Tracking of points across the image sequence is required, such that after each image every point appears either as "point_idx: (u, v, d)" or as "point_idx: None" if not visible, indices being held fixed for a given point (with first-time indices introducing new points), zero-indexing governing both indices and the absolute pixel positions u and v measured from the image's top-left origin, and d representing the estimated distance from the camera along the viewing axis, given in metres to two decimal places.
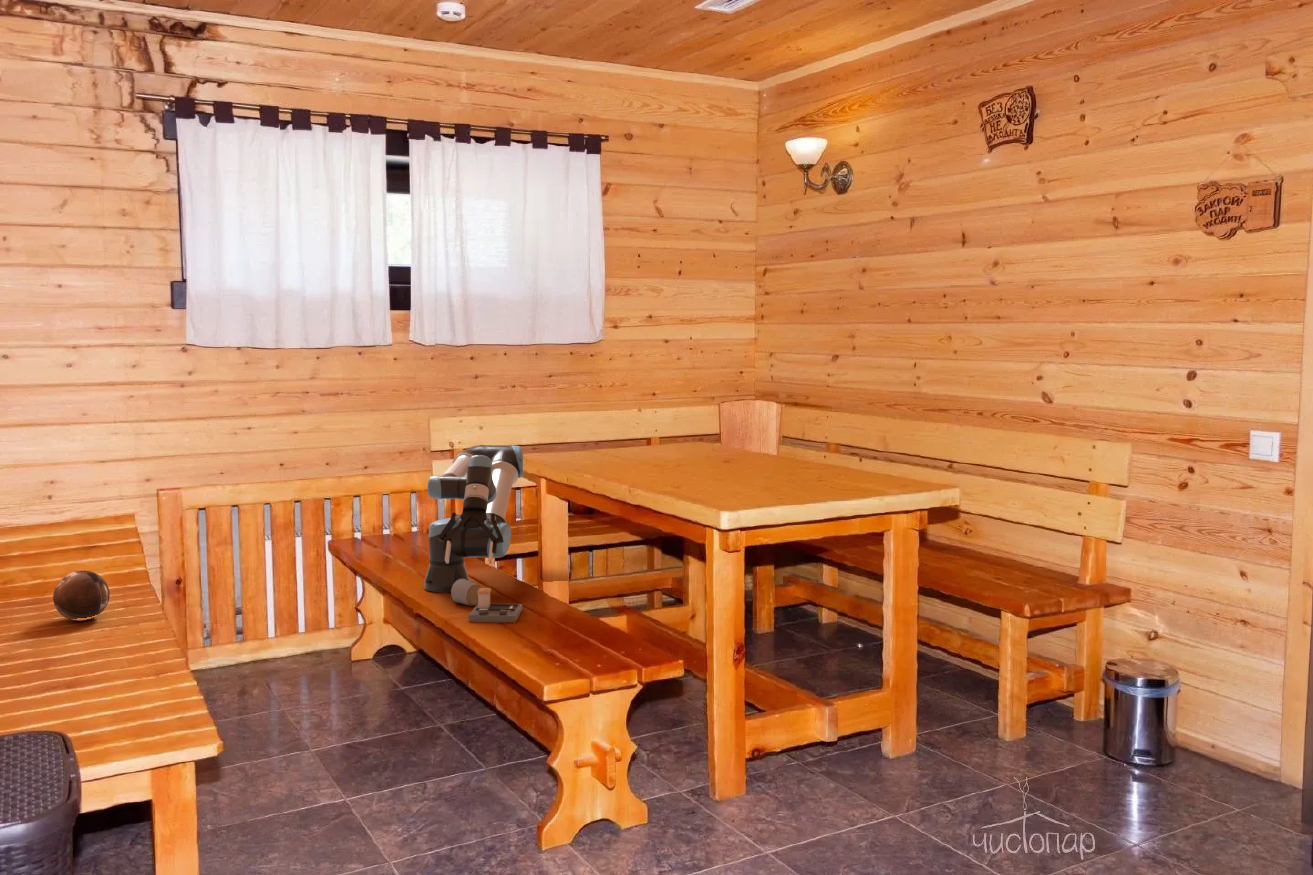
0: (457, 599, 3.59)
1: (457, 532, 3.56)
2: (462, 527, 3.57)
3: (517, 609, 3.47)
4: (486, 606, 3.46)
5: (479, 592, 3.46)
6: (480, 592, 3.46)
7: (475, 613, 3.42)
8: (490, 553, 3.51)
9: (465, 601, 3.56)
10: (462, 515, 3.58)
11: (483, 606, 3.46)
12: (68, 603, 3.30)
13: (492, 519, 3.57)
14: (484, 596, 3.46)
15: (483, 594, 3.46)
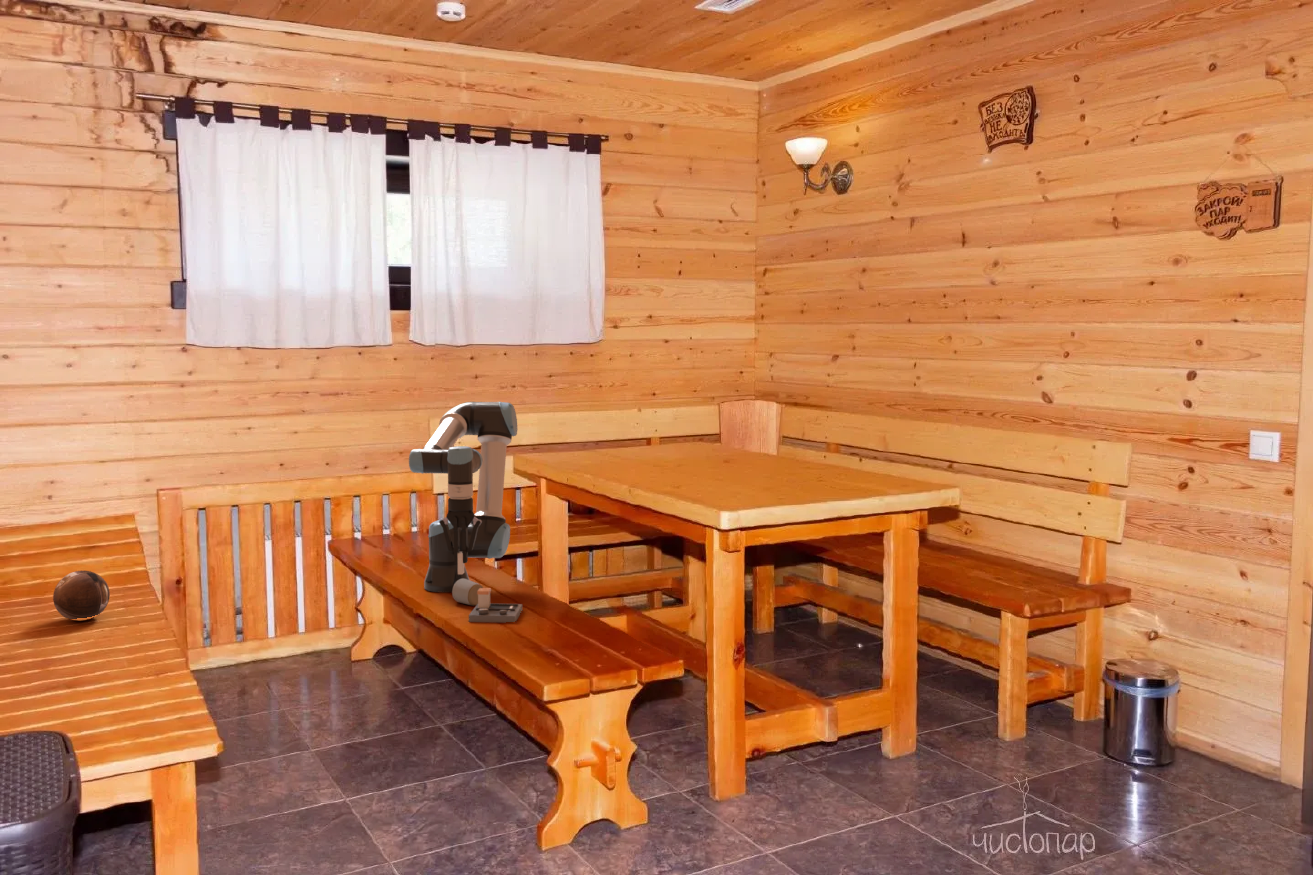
0: (458, 599, 3.59)
1: (458, 536, 3.46)
2: (458, 529, 3.46)
3: (517, 609, 3.47)
4: (486, 606, 3.46)
5: (479, 592, 3.46)
6: (480, 592, 3.46)
7: (475, 613, 3.42)
8: (461, 566, 3.45)
9: (466, 601, 3.57)
10: (449, 517, 3.44)
11: (483, 606, 3.46)
12: (68, 603, 3.30)
13: (475, 526, 3.44)
14: (484, 596, 3.46)
15: (483, 594, 3.46)
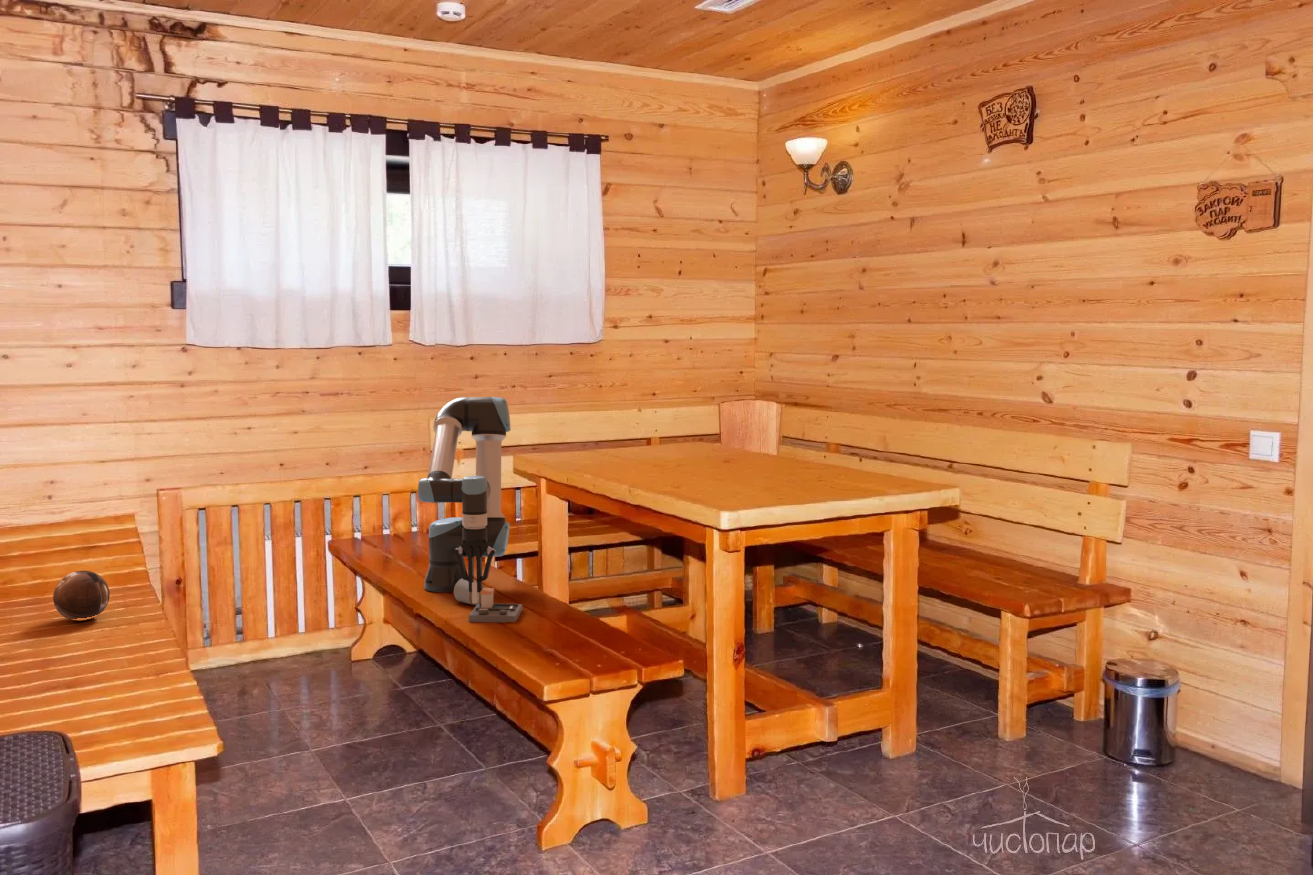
0: (459, 599, 3.60)
1: (472, 566, 3.47)
2: (472, 559, 3.46)
3: (517, 609, 3.47)
4: (489, 606, 3.46)
5: (482, 592, 3.46)
6: (484, 593, 3.46)
7: (475, 613, 3.42)
8: (475, 595, 3.46)
9: (468, 600, 3.57)
10: (463, 546, 3.45)
11: (486, 606, 3.46)
12: (68, 603, 3.30)
13: (489, 556, 3.45)
14: (487, 596, 3.46)
15: (486, 594, 3.46)
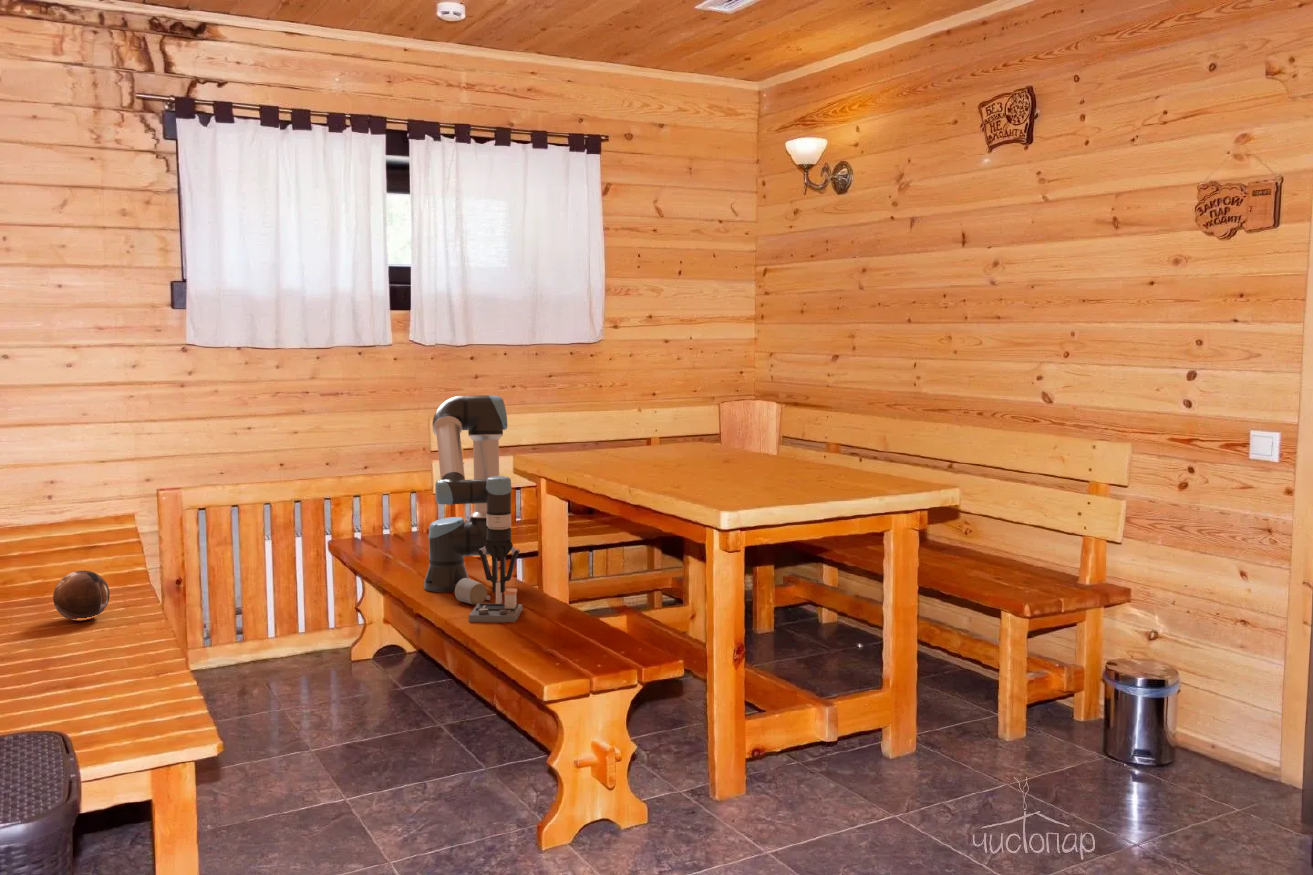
0: (460, 598, 3.60)
1: (496, 566, 3.47)
2: (496, 559, 3.46)
3: (517, 609, 3.47)
4: (512, 606, 3.46)
5: (506, 592, 3.45)
6: (507, 593, 3.45)
7: (475, 613, 3.42)
8: (499, 596, 3.46)
9: (469, 600, 3.57)
10: (487, 547, 3.45)
11: (509, 606, 3.46)
12: (68, 603, 3.30)
13: (513, 556, 3.45)
14: (510, 596, 3.46)
15: (510, 594, 3.45)
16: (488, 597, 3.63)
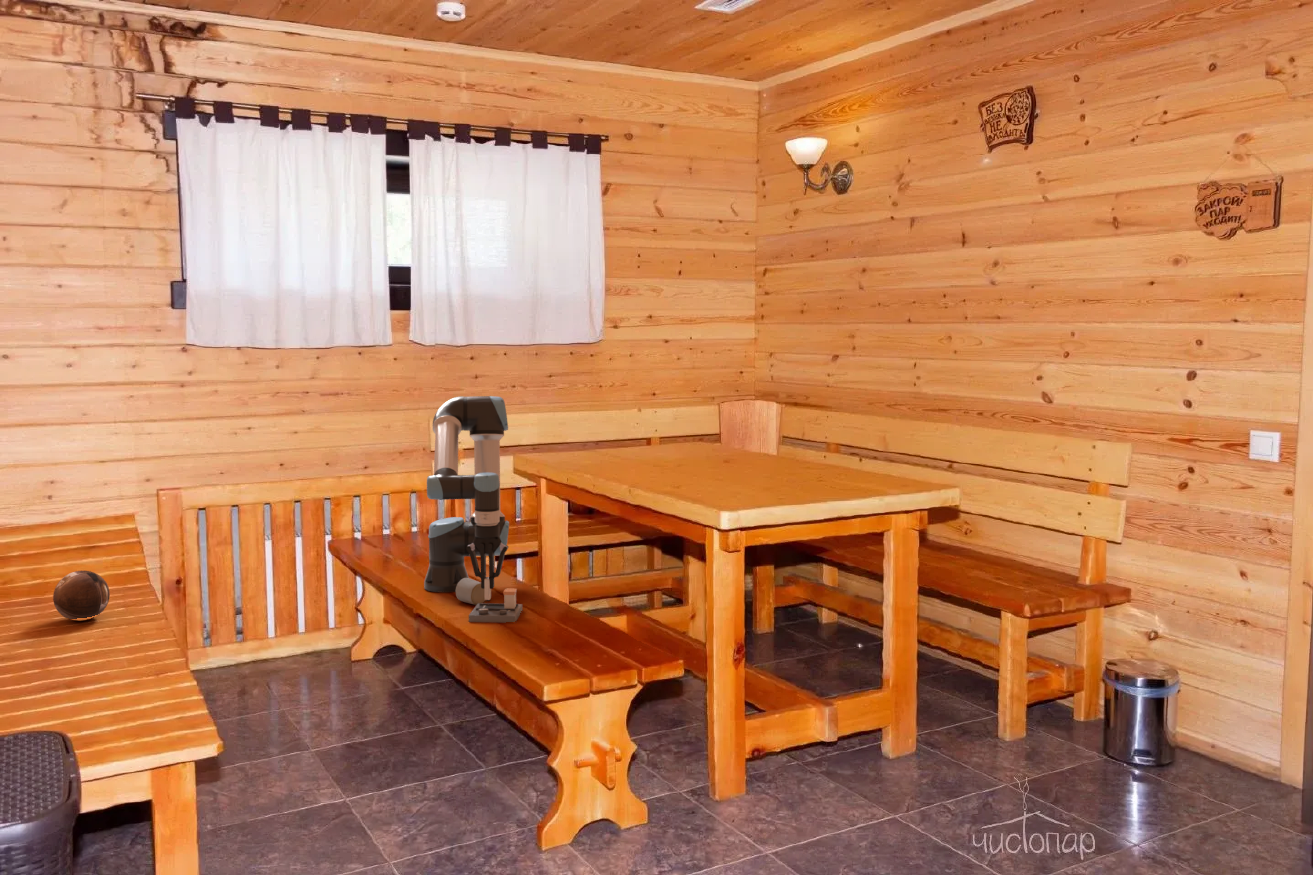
0: (461, 598, 3.60)
1: (485, 562, 3.47)
2: (485, 555, 3.47)
3: (517, 609, 3.47)
4: (512, 606, 3.46)
5: (505, 592, 3.45)
6: (506, 593, 3.45)
7: (475, 613, 3.42)
8: (488, 592, 3.47)
9: (469, 600, 3.58)
10: (475, 543, 3.45)
11: (509, 606, 3.46)
12: (68, 603, 3.30)
13: (501, 553, 3.45)
14: (510, 596, 3.46)
15: (509, 594, 3.45)
16: None
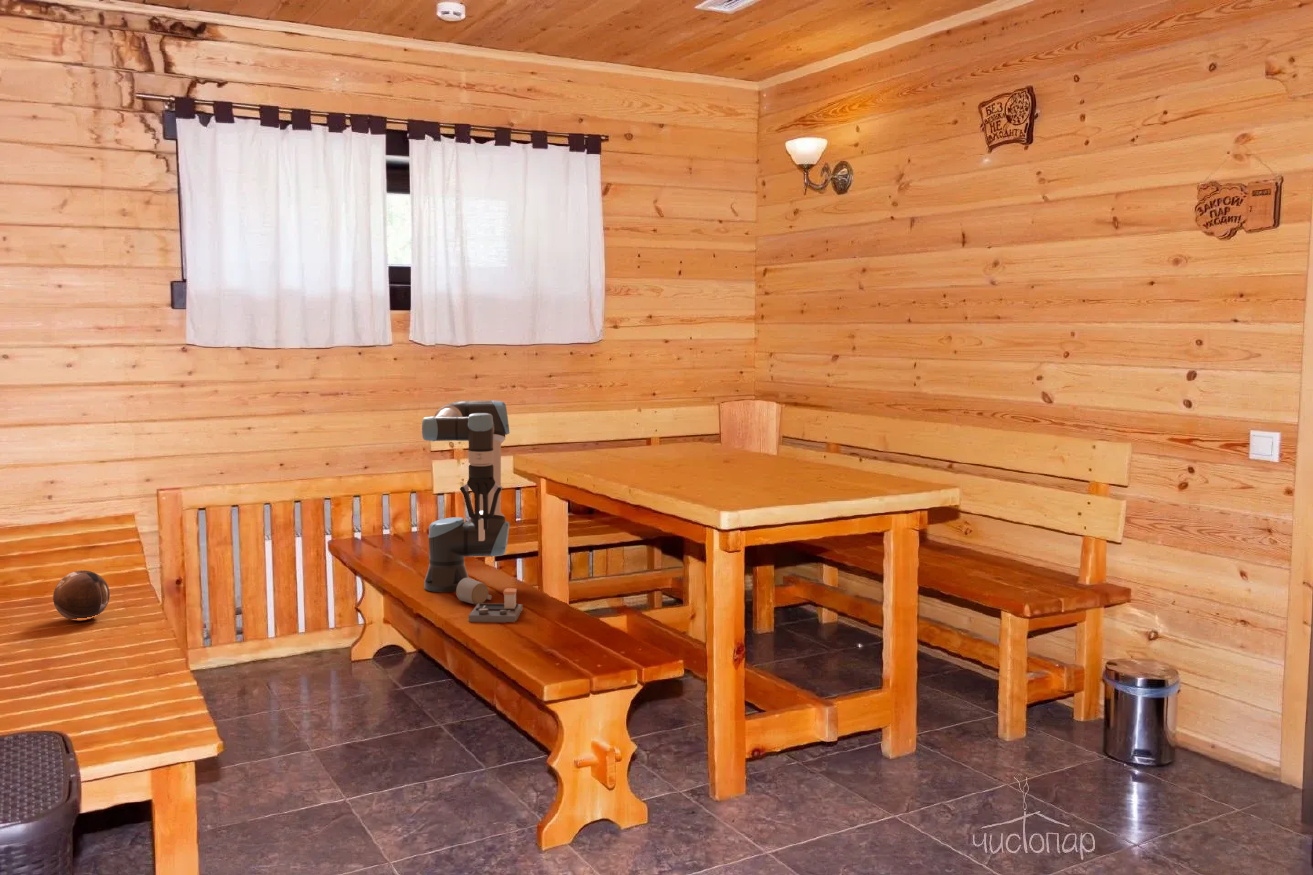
0: (462, 598, 3.60)
1: (479, 503, 3.46)
2: (479, 496, 3.46)
3: (517, 609, 3.47)
4: (512, 606, 3.46)
5: (505, 592, 3.45)
6: (506, 593, 3.45)
7: (475, 613, 3.42)
8: (482, 533, 3.46)
9: (470, 600, 3.58)
10: (469, 484, 3.44)
11: (509, 606, 3.46)
12: (68, 603, 3.30)
13: (496, 493, 3.44)
14: (510, 596, 3.46)
15: (509, 594, 3.45)
16: (489, 597, 3.64)
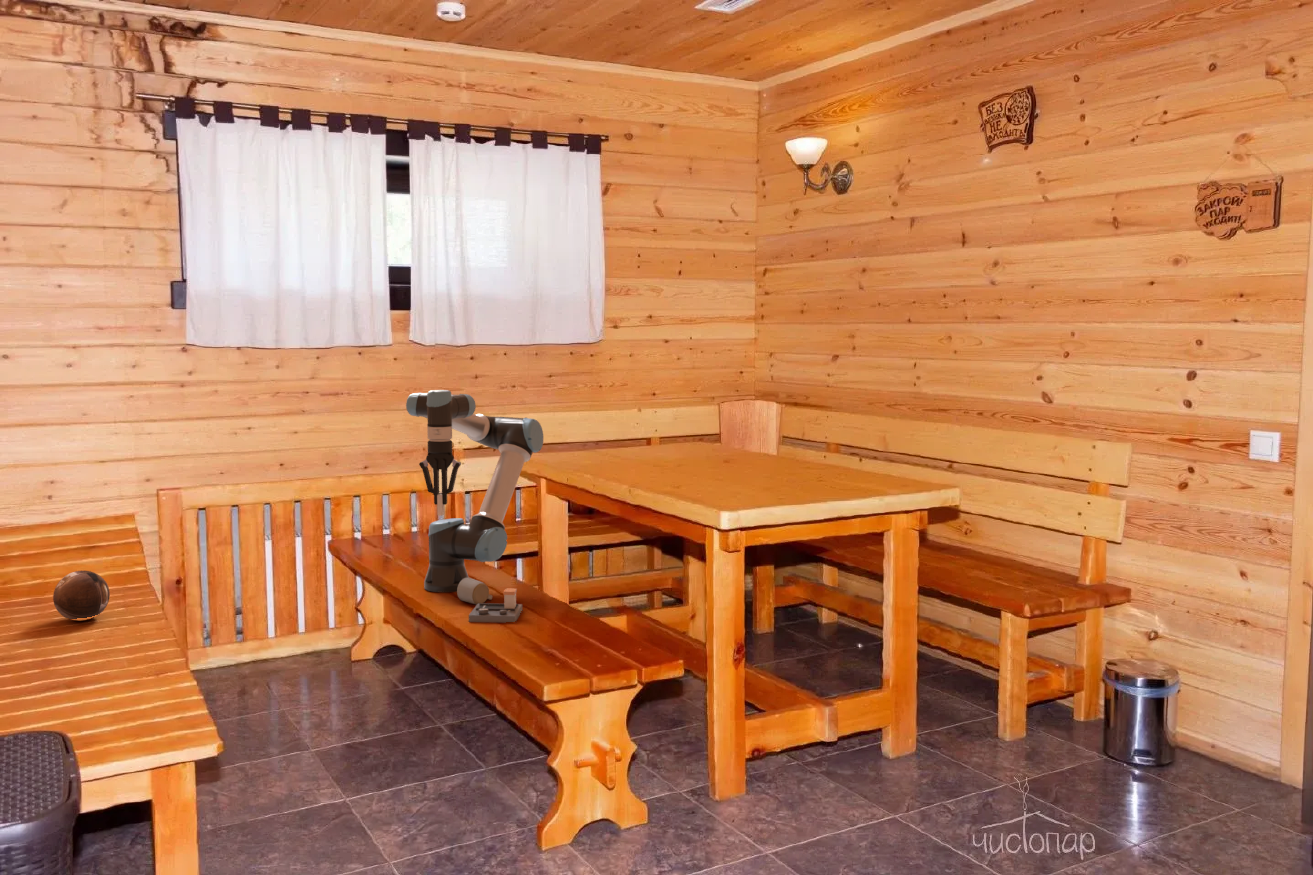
0: (463, 598, 3.61)
1: (438, 478, 3.53)
2: (437, 471, 3.52)
3: (517, 609, 3.47)
4: (512, 606, 3.46)
5: (505, 592, 3.45)
6: (506, 593, 3.45)
7: (475, 613, 3.42)
8: (441, 507, 3.52)
9: (471, 600, 3.58)
10: (428, 459, 3.51)
11: (509, 606, 3.46)
12: (68, 603, 3.30)
13: (454, 468, 3.51)
14: (510, 596, 3.46)
15: (509, 594, 3.45)
16: (490, 596, 3.64)
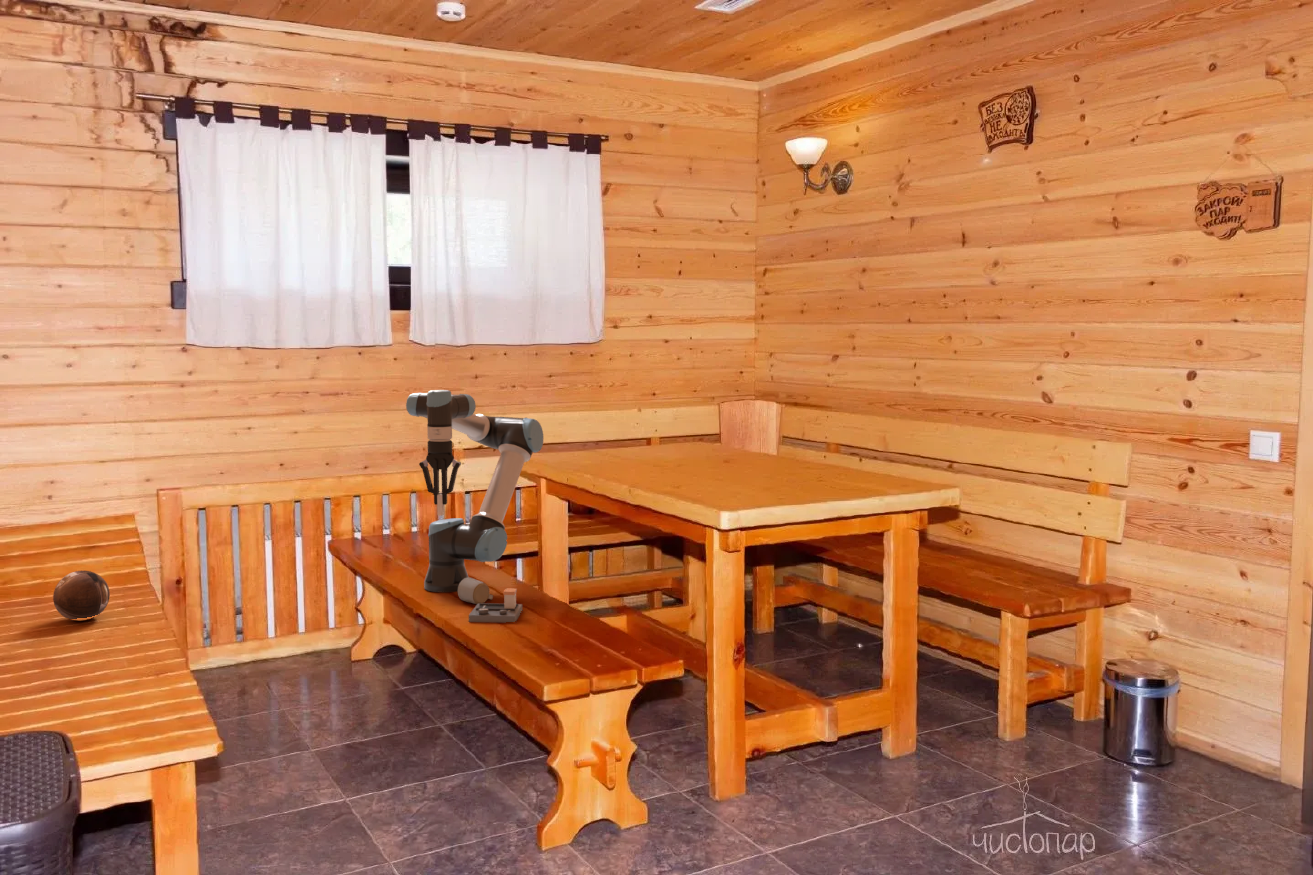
0: (463, 598, 3.61)
1: (438, 478, 3.53)
2: (437, 471, 3.52)
3: (517, 609, 3.47)
4: (512, 606, 3.46)
5: (505, 592, 3.45)
6: (506, 593, 3.45)
7: (475, 613, 3.42)
8: (441, 507, 3.52)
9: (471, 599, 3.58)
10: (428, 459, 3.51)
11: (509, 606, 3.46)
12: (68, 603, 3.30)
13: (454, 468, 3.51)
14: (510, 596, 3.46)
15: (509, 594, 3.45)
16: (491, 596, 3.64)
